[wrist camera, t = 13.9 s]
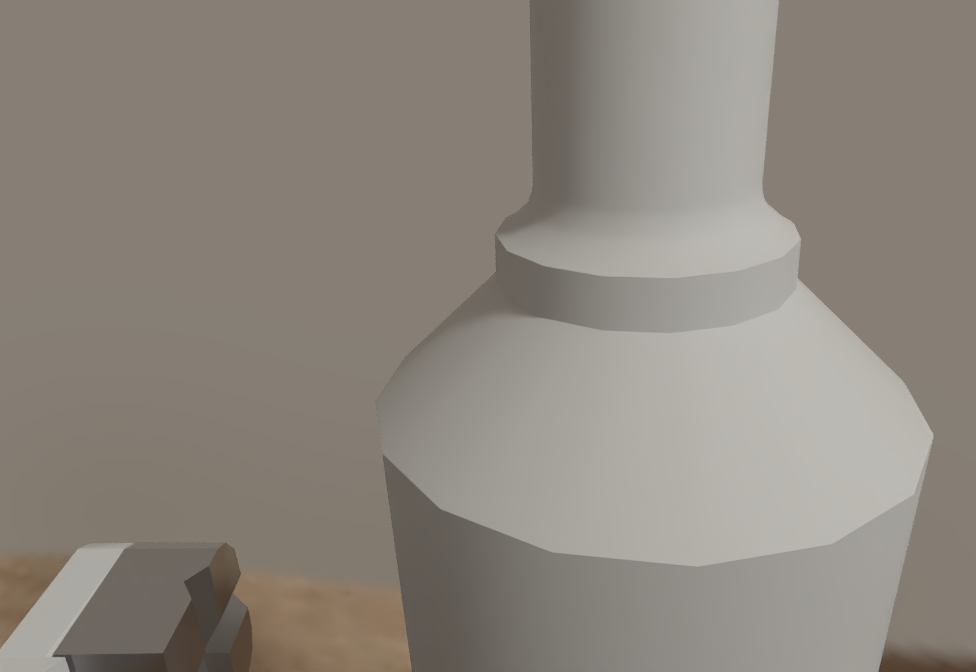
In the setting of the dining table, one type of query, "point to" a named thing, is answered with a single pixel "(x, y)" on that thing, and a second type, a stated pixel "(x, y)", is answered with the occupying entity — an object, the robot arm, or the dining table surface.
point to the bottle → (649, 390)
